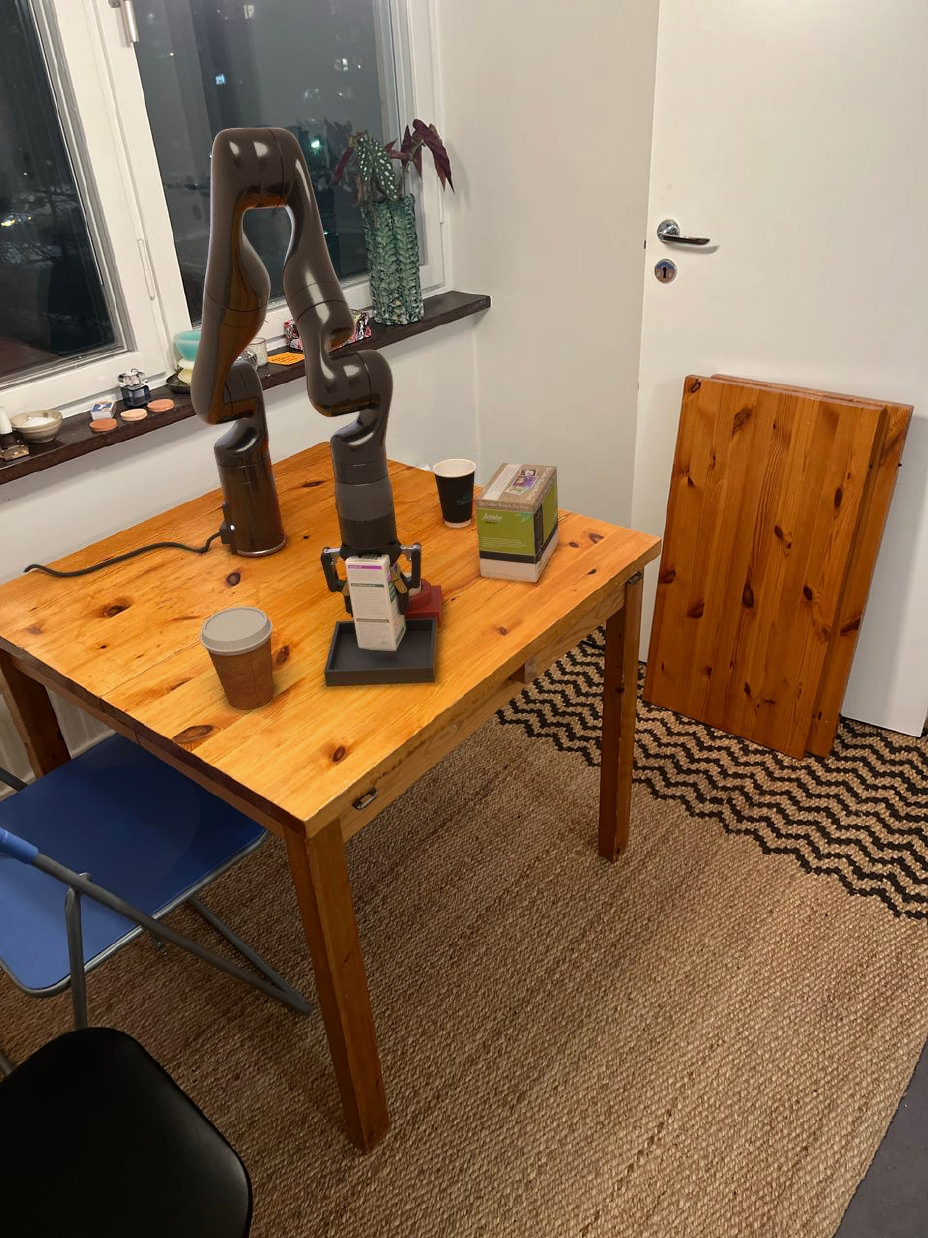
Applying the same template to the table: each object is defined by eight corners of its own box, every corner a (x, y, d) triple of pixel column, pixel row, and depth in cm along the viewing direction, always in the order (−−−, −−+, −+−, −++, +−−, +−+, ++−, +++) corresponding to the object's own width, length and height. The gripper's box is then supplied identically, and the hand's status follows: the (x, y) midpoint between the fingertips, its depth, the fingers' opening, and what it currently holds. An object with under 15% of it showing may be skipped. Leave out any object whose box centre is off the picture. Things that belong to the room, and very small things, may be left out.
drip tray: (326, 687, 128) (324, 672, 127) (338, 635, 139) (336, 621, 138) (434, 682, 127) (433, 667, 126) (437, 631, 139) (436, 616, 137)
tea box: (505, 537, 164) (502, 460, 156) (560, 543, 160) (559, 464, 153) (478, 577, 152) (473, 496, 144) (536, 585, 149) (535, 502, 141)
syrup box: (396, 652, 129) (386, 561, 121) (356, 649, 130) (343, 559, 122) (406, 630, 133) (397, 541, 126) (368, 627, 135) (356, 539, 127)
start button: (391, 598, 139) (390, 587, 138) (394, 583, 142) (392, 572, 141) (420, 597, 138) (419, 585, 137) (422, 582, 142) (421, 571, 141)
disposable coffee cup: (221, 679, 131) (204, 608, 125) (288, 673, 131) (274, 601, 125) (211, 720, 123) (192, 646, 117) (282, 713, 123) (267, 639, 117)
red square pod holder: (375, 630, 140) (372, 602, 137) (380, 603, 146) (376, 576, 144) (440, 628, 139) (438, 600, 137) (442, 601, 146) (440, 573, 143)
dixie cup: (473, 532, 166) (469, 476, 160) (431, 529, 168) (426, 474, 162) (483, 514, 172) (480, 459, 167) (443, 511, 174) (439, 457, 168)
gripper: (421, 491, 123) (430, 597, 132) (315, 496, 124) (332, 602, 133) (418, 515, 117) (428, 625, 126) (306, 520, 117) (324, 629, 126)
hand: (378, 613), depth 129 cm, fingers closed on syrup box, 6 cm apart
